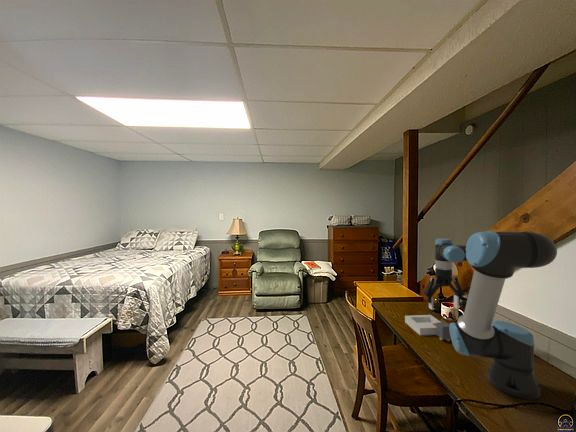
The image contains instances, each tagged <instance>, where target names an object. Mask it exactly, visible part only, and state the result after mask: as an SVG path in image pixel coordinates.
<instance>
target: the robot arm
mask: <svg viewBox="0 0 576 432" xmlns="http://www.w3.org/2000/svg"><path fill="white" fill-rule="evenodd" d="M434 252H435V253H434V260H435V261H434V262H435V264H434V265H435V266H434V267H435V268H434V269H435V270H434V273H435V277H432V276H430V277H429V280H428V283H427V285H426V287H425V289H424V292H423V295H424V296H426V298H427V300H426V301H427V303H428V308H429V309H430V310H431V311H433V310H434V297H433V296H434V295H435V293H436V292H437V291H438V290H439V288H441V287H448V288H449V289H450V290H451V291H452V292H453V293H454V294H453V308H455V309H456V310H460V303H461V298H462V296H464V295H465V292H464V291H463V288H462V287H461V284H460V282H459V278H458V277H456V276H453V263H460V262H468V264H469V265H470V267H471V269H472V270H473V274H472V277H471V278H472V279H471V284H470V286H469V287H470V288H469V291H468V295H467V301H466V304H465V307H464V313H463V314H462V315H460V316H458V318H457V321H456V322H451V323H449V331H450V336H451V339H450V341H451V343H452V345H453V348H454V350H455V351H456V353H458V354H460V355H462V356H468V357H476V358H477V357H478V358H485V359H486V358H489V359H492V361H491V363H490V366H489V368H488V370H487V380H488V382H489V383H490V385H492V386H493V387H495V388H496V389H498V390H500V391H501V392H503V393H505V394H507V395H509V396H512V397H515V398H517V399H518V398H519V399H523V400H527V401H528V400H529V401H530V400H532V401H533V400H537V399H539V398H540V397H541V387H540V385H539V383H538V380H537V378H536V375H535V372H534V371H535V370H534V369H535V368H534V367H535V366H534V365H535V364H534V363H535V361H534V356H535V355H534V354H535V352H534V351H535V346H536V345H535V342H534V341H535V340H534V336H533V334H532V333H531V332H530V331H529V330H528V329H526V328H524V327H522V326H520V325H517V324H515V323H512V322H508V321H504V320H494V317H495V314H496V311H497V309H498V305H499V302H500V298H501V294H502V290H503V287H504V286H505V281H506V280H507V279H510V278H512V277H513V276H514V273H515V270H516V268H519V269H522V268H524V269H534V268H541V267H542V268H543V267H545V266H549V265H550V264H551V263H553V261H554V260H556V257H557V255H558V248H557V246H556V244H555V242H554V241H553V240H552V239H550V238H549V237H548V236H546V235H544V234H542V233H538V232H534V231H494V230H487V231H478V232H475V233H473V234H471V235H470V237H469V238H468V240H467V242H466V244H465V245H463V244H461V245H459V244H458V245H457V244H454V245H453V240H452V239H450V238H443V237H442V238H436V239H435V241H434ZM452 282H453V283H452ZM493 320H494V321H493Z"/></svg>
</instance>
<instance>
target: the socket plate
mask: <svg viewBox="0 0 576 432" xmlns="http://www.w3.org/2000/svg"><path fill="white" fill-rule="evenodd" d="M404 322H405V324H406V325H408V326H409V327H410V328H411V329H412V330H413V331H414V332H416V334H418V335H419V336H437V335H436V323H438V322H441V321H440V320H439V319H437V318H436V317H435V316H433V315H432V314H416V315H415V314H414V315H404Z"/></svg>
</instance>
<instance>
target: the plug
mask: <svg viewBox="0 0 576 432" xmlns="http://www.w3.org/2000/svg"><path fill="white" fill-rule="evenodd" d="M449 325H450V323H447V322H445V321H444V322H443V321H440V322H438V323H436V335H435V336H437V337H439V340H440V341H444V340H445V341H447V342H450V341H451V336H450V331H449Z"/></svg>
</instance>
